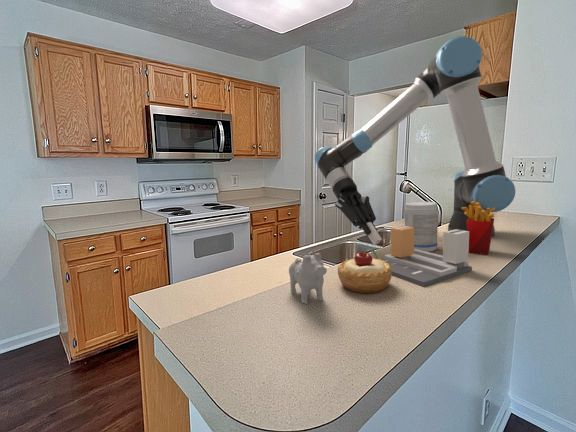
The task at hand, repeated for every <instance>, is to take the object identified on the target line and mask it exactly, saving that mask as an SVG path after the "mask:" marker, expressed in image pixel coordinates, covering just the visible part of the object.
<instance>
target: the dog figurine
mask: <svg viewBox="0 0 576 432" xmlns="http://www.w3.org/2000/svg"><path fill="white" fill-rule="evenodd" d="M327 271H328V269H327V268H326V267H324V262H323V260H322V255H321V253H320V252H316V253H314V254H311V255H307V254H306V255H303V257H302V258H299V257H298V258H297V257H296V259H295V260H294V262H292V263H291V264H290V265H289V267H288V274H289V278H290V280H289V281H290V293H291V292H296V291H297V289H296V285H297V284H298V286H299V289H300V290H301V291H300V292H301V294H300V297H301V299H300V301H301V302H302V303H306V304H305V305H307V304H309V303H308V299H309V294H310V293H309V292H310V291H311V290H315V292H316V300H317V299H318V301H320V300H321V301H324V300H323V299H324V296H323V294H324V293H323V285H324V278H325V277H324V275H326V274H327ZM296 293H297V292H296ZM301 302H300V303H301ZM302 303H301V304H302Z"/></svg>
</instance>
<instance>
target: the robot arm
mask: <svg viewBox="0 0 576 432" xmlns="http://www.w3.org/2000/svg"><path fill="white" fill-rule="evenodd" d="M479 43H480V42H478V41H477V40H476V39H474V38H472V37H469V36H464V35H461V36H460V35H459V36H455V37H452V38H451V39H448V41H446V42H445V43H444V44H442V45H441V46H440V48H439V49H438V51H437V52H436V54H435V55H434V57H433V58H432V59H431V61H430V62H429V63H428V64H427V66H426V67H425V68H424V69H423V71H422V72H421V73H420V74H419V75H418V76H416V77H415V79H414V81H413V84H411V85H410V86H409V87H408V88H407V89H406V90H404V92H402V93H401V94H400V95H399V96H398V97H396V99H395V98H394V100H393V101H392V102H390V103H389V104H388V105H387V106H386V107H385V108H383V109H382V110H381V111H380V112H379V113H378V114H377V115H375V117H374V118H372V119H371V120H370V121H369V122H367V123H366V124H365V125H364V126H363V127H362V128H361V129H358V130H357V131H355V132H353V133H352V134H350V136H348V137H347V138H346V139H344V140H343V141H341V142H340V143H339V144H337V145H335V146H334V147H331V146H329V145H326V146H324V147H320V148H318V150H317V151H316V152H315V154H314V162H315V163H316V165H317V167H318V169H319V171H320V172H321V173H322V175H323V177H324V179H325V181H326V182H327V183H328V185H329V188H330V189H331V190H332V192H333V194H334V196H335V197H336V199H337V201H336V203H335V204H334V206H335V207H336V208H337V209H339V210H340V211H341V212H342V213H343V215H344V216H345V217H346V218H347V220H349V221H350V222H351V224H352V225H353V226H354V227H358V229H359V230H361V229H362V231H363V232H364V234H365V235H366V236H368V238H369V239H370V241H371V243H372V244H373V246H376V245H379V244H380V242H381V241H382V240H383V239H382V237H381V235H380V234H379V232H378V229H377V227H376V226H375V224H374V222H375V221H376V220H377V217H376V215H375V212H374V209H373V207H372V205H371V203H370V197H369V196H367V195H366V196H365V197H364V196H362V194H361V193H360V192H359V191H358V186H357V184H356V182H355V181H354V180H353V178H352V177H351V174H350V173H349V172H348V170H347V168H345V167H346V166H347V165H349V164H350V163H352V162H353V161H355V160H356V159H358V158H360V157H361V156H362V155H364V154H365V153H367V152H368V151H369V150H370V149H371V148H372V147H373V146H374V145H375V144H376V143H378V141H381V139H382V138H383V137H385V135H387V134H388V133H390V131H392V130H393V129H394V128H395V127H396V126H398V125H399V124H400V123H401V122H402V121H404V120H405V119H406V118H407V117H408V116H410V115H411V114H412V113H413V112H415V111H416V110H417V109H418V108H419V107H420V106H422V105H423V104H425V102H427V101H428V100H430V101H431V100H434V99H435V98H436V97H437V96H439V95H440V94H441V95H443V96H445V97H446V98H447V103H448V106H449V110H450V115H451V119H452V123H453V125H454V130H455V133H456V137H457V141H458V145H459V149H460V152H461V156H462V159H463V160H462V161H463V164H464V168H465V169H464V170H461V171H457V172H456V173H455V175H454V180H453V186H454V189H453V192H454V193H453V213H452V215H451V218H450V220H449V223H448V225H447V231H451V230H455V229H457V230H463V231H467V220H468V219H469V217H468V216H467V215H465V214H464V212H465V211H464V210H462V207H467V208H468V209H469V205H472V204H471V202H472V201H474V202H475V203H480V205H481V207H482V209H483V210H485V211H486V212H487V208H490V209H492V208H495V210H493V211H492V212H491V213H498V212H501V211H502V210H505V209H506V208H508V207H509V206H510V204H511V203H512V202H513V201H514V199H515V196H516V186H515V184H514V182H513V181H512V180H511V179H510V178H509V177H507V175H506V171H505V166H504V164H502V163H500V162H498V161H497V160H496V155H495V152H494V148H493V143H492V139H491V134H490V130H489V127H488V122H487V120H486V114H485V111H484V106H483V103H482V99H481V95H480V91H479V86H478V85H479V84H480V81H481V80H482V73H481V69H480V63H481V61H482V59H483V58H482V57H483V51H482V47H481V45H480V44H479ZM472 206H473V205H472ZM474 215H475V210H474ZM479 218H480V214H479ZM495 231H496V227H495V225H494V224H493V230H492V237H493V236H495Z"/></svg>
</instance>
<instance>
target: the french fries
mask: <svg viewBox="0 0 576 432" xmlns="http://www.w3.org/2000/svg"><path fill="white" fill-rule="evenodd" d="M471 204H472V205H473V206H472V205H469V209H468V208H467V207H462V210H464V211H465V212H464V214H465V215H467V216H468V217H469V219H468V220H467V231H469V251H468V254H474V255H482V256H483V255H485V256H489V253H490V249H491V242H492V237H493V236H492V230H493V225H494V223H495V218H494V217H495V214H494V212H492V211H493V210H495V208H492V209H490V208H487V212H486V211H485V210H483V209H482V207H481V205H480V203H475V202H474V201H472V202H471ZM474 210H475V215H474ZM479 214H480V218H479Z"/></svg>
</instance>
